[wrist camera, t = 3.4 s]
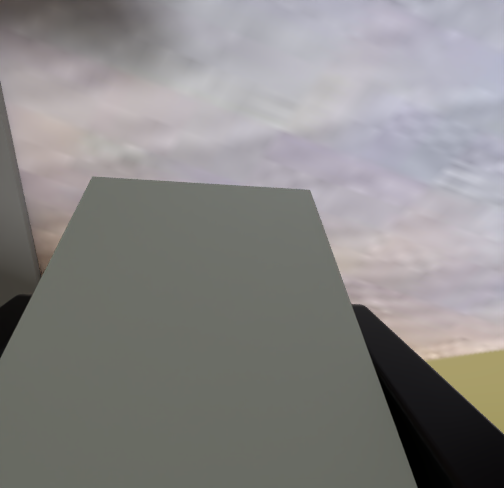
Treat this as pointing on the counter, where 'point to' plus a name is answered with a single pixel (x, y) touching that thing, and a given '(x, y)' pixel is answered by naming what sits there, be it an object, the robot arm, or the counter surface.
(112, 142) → the counter surface
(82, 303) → the domino
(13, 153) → the mat
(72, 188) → the counter surface
